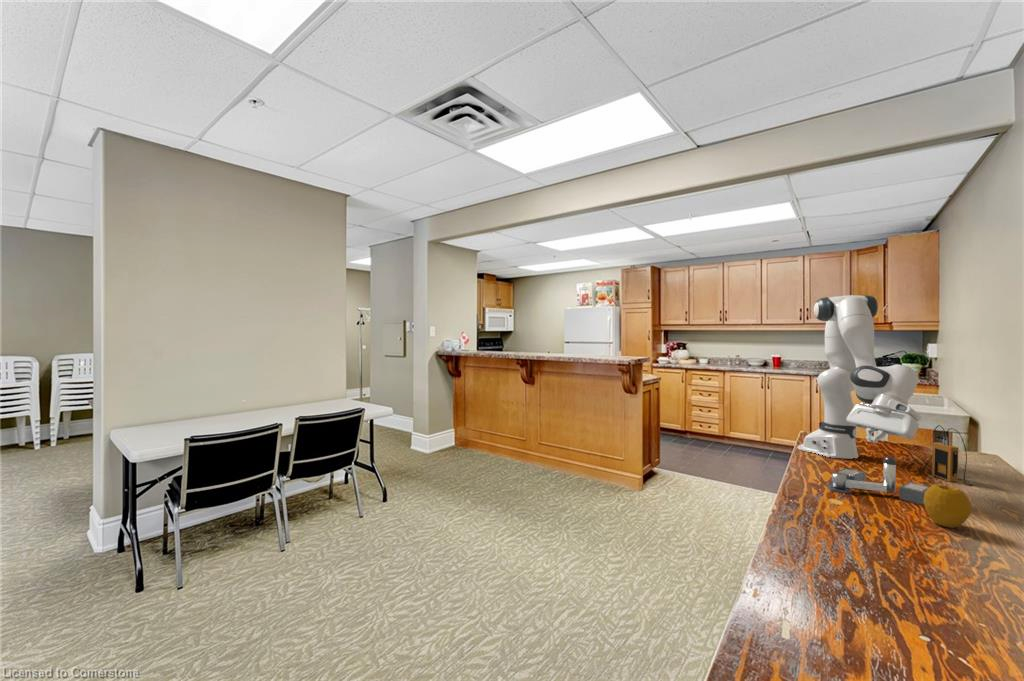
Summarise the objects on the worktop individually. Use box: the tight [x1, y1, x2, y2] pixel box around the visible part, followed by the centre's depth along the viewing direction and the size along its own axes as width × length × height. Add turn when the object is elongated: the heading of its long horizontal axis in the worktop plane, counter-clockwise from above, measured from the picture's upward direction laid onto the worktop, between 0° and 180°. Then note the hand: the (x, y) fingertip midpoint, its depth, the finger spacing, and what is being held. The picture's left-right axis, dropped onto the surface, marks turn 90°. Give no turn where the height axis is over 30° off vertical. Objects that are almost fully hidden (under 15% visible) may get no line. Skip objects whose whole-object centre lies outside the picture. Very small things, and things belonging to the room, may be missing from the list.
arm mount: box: [825, 482, 853, 495], centre depth 151 cm, size 6×6×1 cm
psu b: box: [834, 467, 867, 482], centre depth 157 cm, size 6×10×4 cm, turn 123°
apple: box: [923, 483, 973, 529], centre depth 124 cm, size 10×10×12 cm
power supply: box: [898, 481, 932, 506], centre depth 143 cm, size 6×10×4 cm, turn 123°
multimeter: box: [923, 424, 975, 487], centre depth 162 cm, size 15×10×20 cm
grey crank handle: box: [831, 456, 897, 494], centre depth 148 cm, size 18×4×12 cm, turn 68°
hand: (871, 441), depth 151 cm, fingers closed
